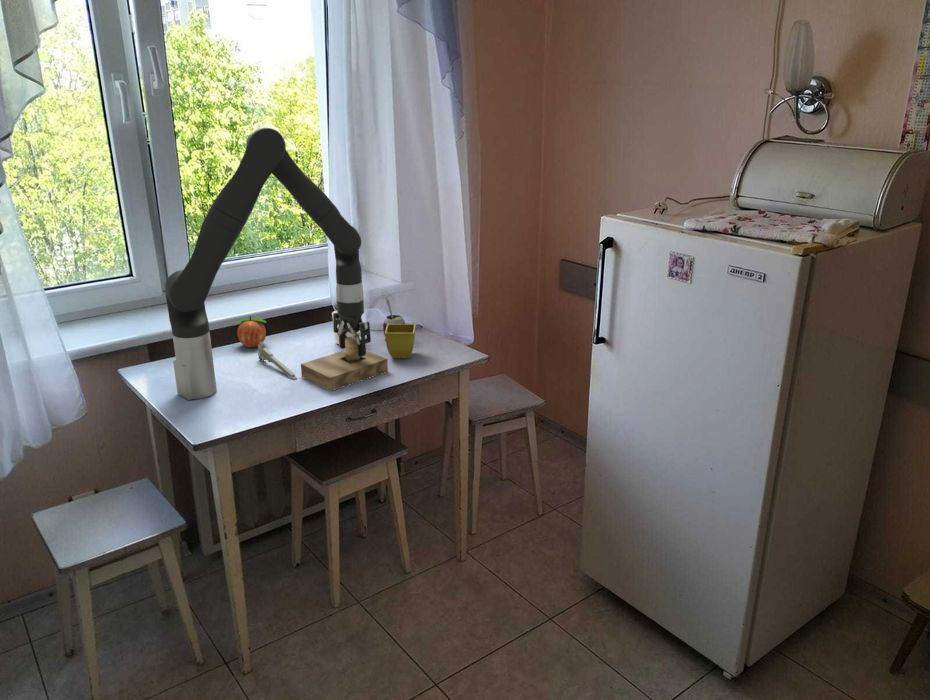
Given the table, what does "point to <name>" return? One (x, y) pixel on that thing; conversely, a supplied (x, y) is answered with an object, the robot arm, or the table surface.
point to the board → (342, 369)
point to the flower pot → (400, 339)
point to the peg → (351, 350)
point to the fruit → (251, 331)
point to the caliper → (273, 360)
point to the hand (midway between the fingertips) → (352, 351)
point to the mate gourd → (392, 318)
